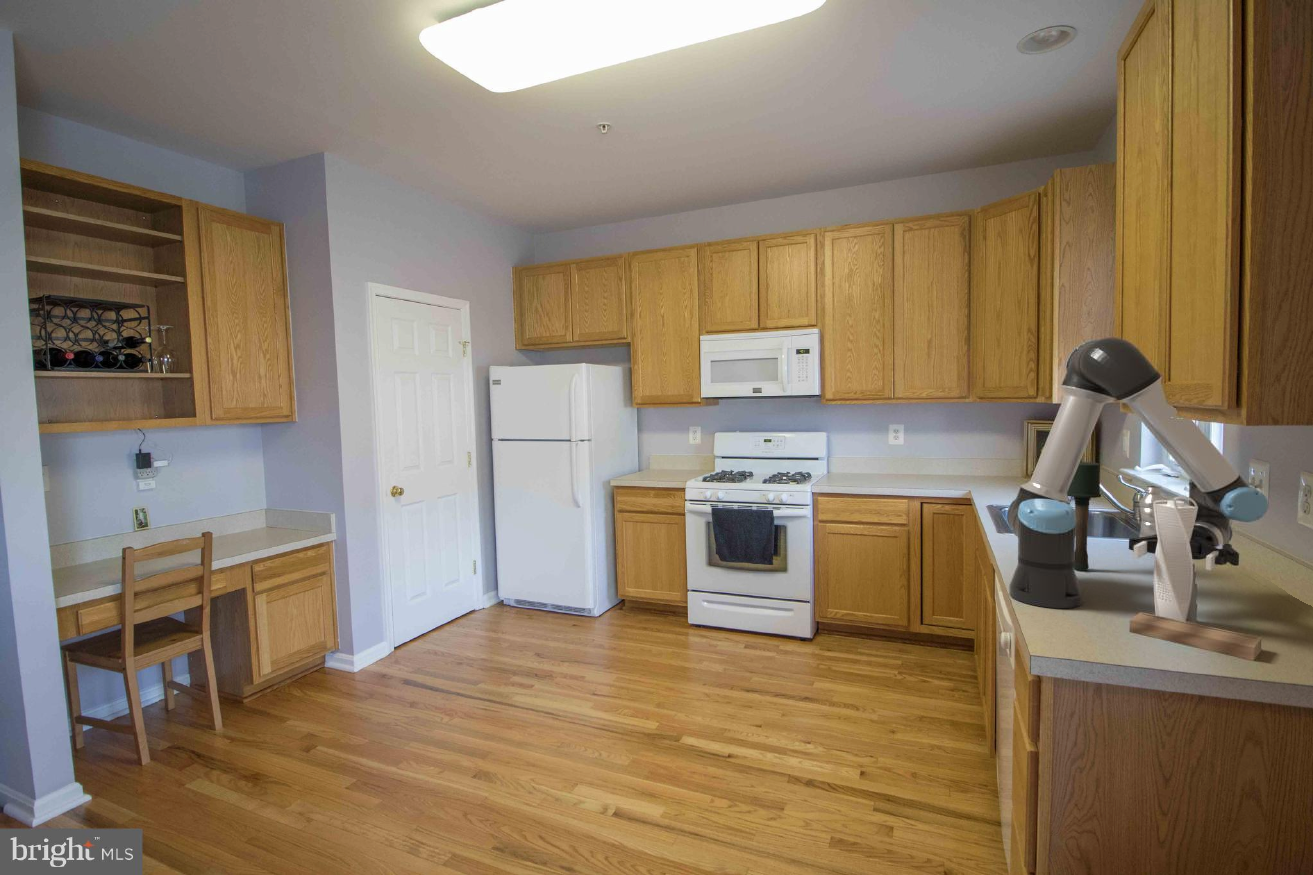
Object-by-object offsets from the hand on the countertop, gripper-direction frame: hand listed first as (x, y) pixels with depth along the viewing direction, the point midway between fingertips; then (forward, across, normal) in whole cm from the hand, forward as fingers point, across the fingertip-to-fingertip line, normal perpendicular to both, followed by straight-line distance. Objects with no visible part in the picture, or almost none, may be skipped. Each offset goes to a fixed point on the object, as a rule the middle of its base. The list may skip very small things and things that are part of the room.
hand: (1170, 557), depth 132 cm
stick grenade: (-34, +27, -15) cm, 46 cm away
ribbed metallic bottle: (-72, +20, -15) cm, 76 cm away
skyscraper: (-4, 0, -15) cm, 16 cm away
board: (+5, -5, -15) cm, 17 cm away
